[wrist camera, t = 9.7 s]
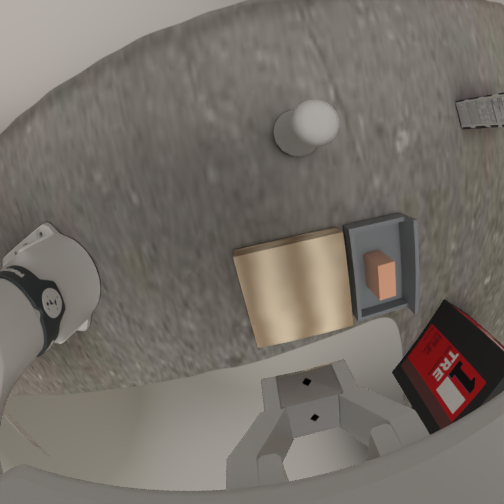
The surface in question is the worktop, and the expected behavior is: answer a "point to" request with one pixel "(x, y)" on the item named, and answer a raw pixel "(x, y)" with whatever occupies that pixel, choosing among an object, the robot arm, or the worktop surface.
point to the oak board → (295, 286)
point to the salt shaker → (306, 127)
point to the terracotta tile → (380, 274)
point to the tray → (394, 246)
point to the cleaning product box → (451, 368)
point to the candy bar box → (481, 111)
